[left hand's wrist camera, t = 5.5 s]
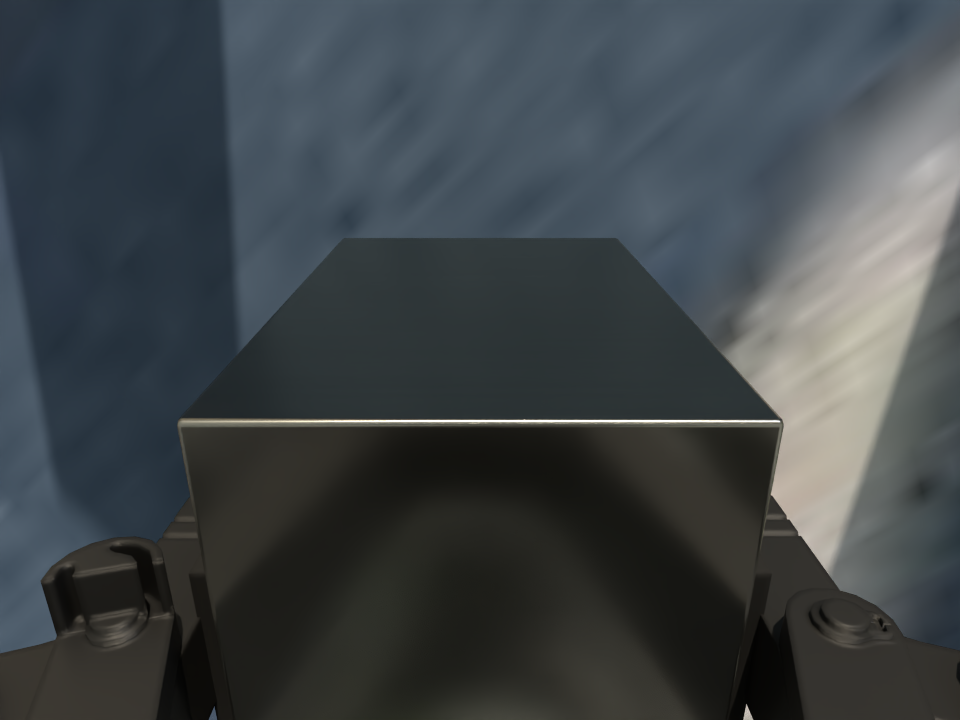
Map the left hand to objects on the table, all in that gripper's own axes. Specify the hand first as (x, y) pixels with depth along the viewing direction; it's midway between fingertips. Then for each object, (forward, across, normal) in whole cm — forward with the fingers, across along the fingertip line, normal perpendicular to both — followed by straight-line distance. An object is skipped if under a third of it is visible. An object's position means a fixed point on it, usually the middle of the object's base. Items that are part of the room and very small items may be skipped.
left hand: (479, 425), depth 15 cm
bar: (+1, 0, -8) cm, 8 cm away
